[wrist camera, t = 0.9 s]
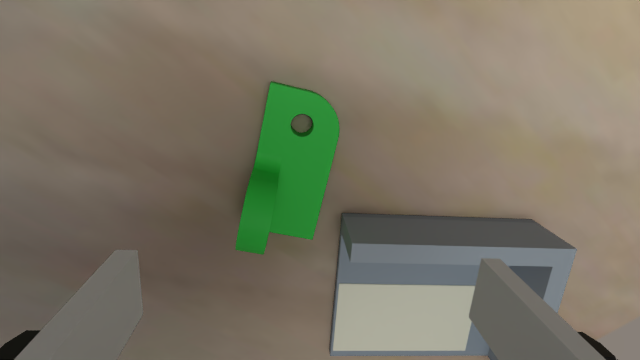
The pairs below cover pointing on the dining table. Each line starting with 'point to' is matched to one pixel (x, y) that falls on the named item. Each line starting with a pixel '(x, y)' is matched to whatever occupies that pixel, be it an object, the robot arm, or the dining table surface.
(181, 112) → the dining table surface
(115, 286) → the robot arm
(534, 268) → the corner arena
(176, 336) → the dining table surface
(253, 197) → the mechanical part
